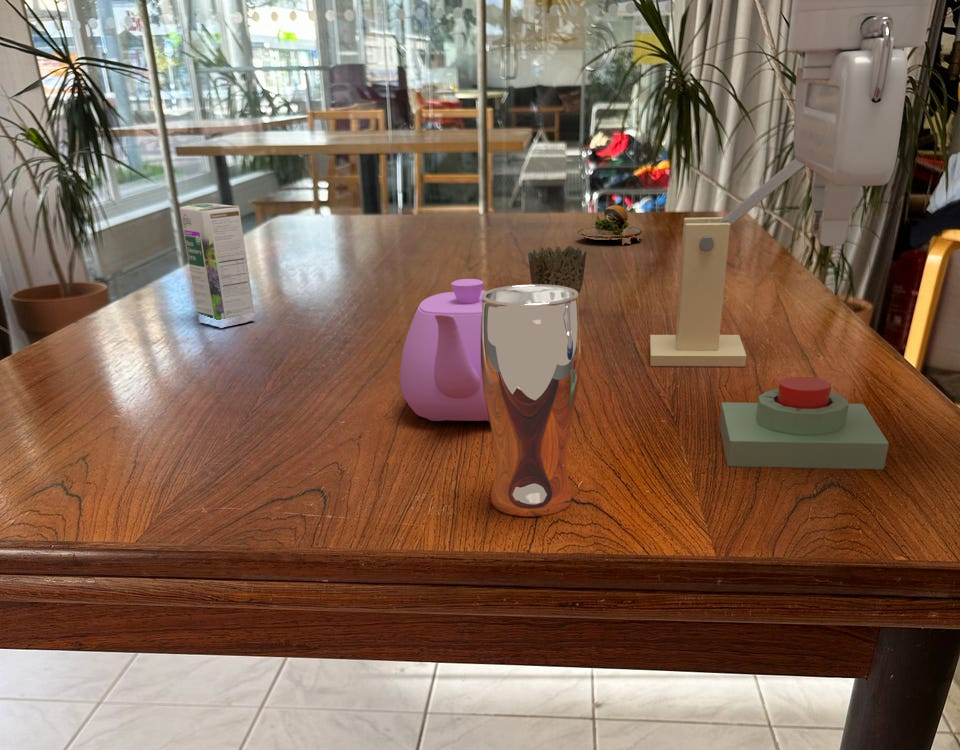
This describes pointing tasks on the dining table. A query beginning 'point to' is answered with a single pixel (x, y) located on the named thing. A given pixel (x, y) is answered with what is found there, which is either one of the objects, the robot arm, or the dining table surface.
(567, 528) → the dining table surface
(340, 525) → the dining table surface
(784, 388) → the button
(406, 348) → the teapot
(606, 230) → the moss table decoration
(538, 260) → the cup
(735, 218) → the lever
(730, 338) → the bracket
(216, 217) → the syrup box
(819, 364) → the dining table surface
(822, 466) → the button box
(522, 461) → the beer glass
